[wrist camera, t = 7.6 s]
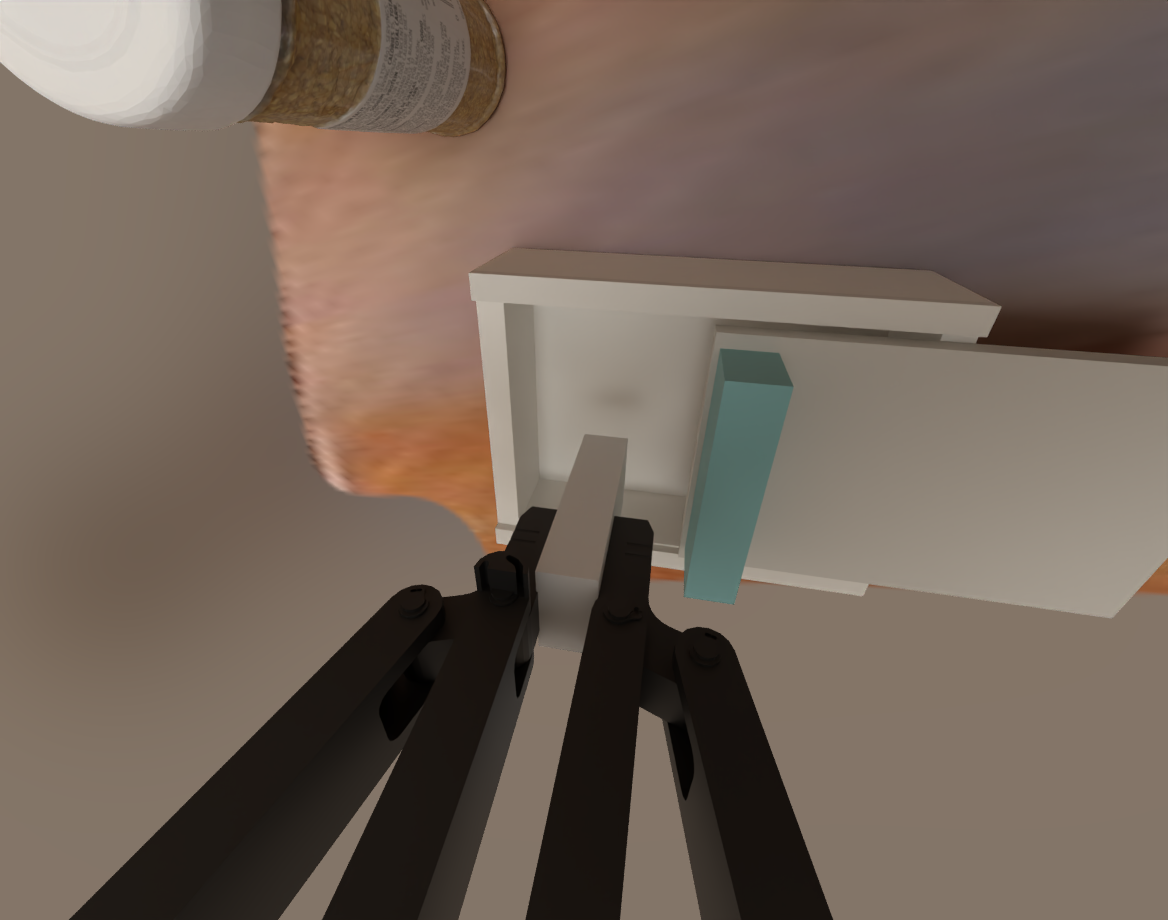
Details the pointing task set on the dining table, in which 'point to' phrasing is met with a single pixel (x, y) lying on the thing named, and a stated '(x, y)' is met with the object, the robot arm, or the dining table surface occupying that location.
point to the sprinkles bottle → (261, 62)
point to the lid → (929, 468)
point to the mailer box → (661, 362)
